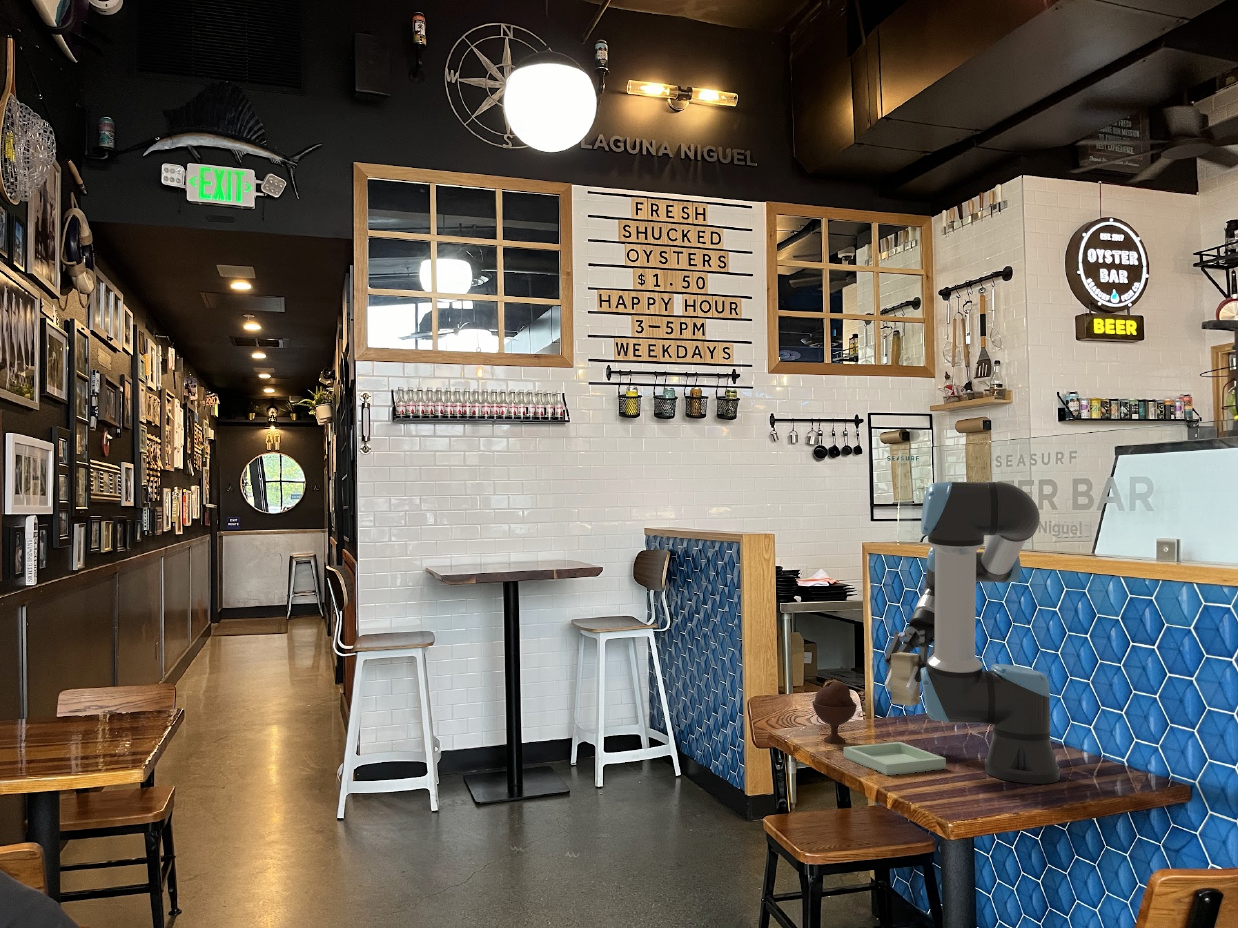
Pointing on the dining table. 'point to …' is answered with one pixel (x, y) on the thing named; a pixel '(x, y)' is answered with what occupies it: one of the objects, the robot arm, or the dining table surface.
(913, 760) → the tray
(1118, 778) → the dining table surface
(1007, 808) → the dining table surface
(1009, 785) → the dining table surface
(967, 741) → the dining table surface
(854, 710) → the ice cream bowl
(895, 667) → the block
